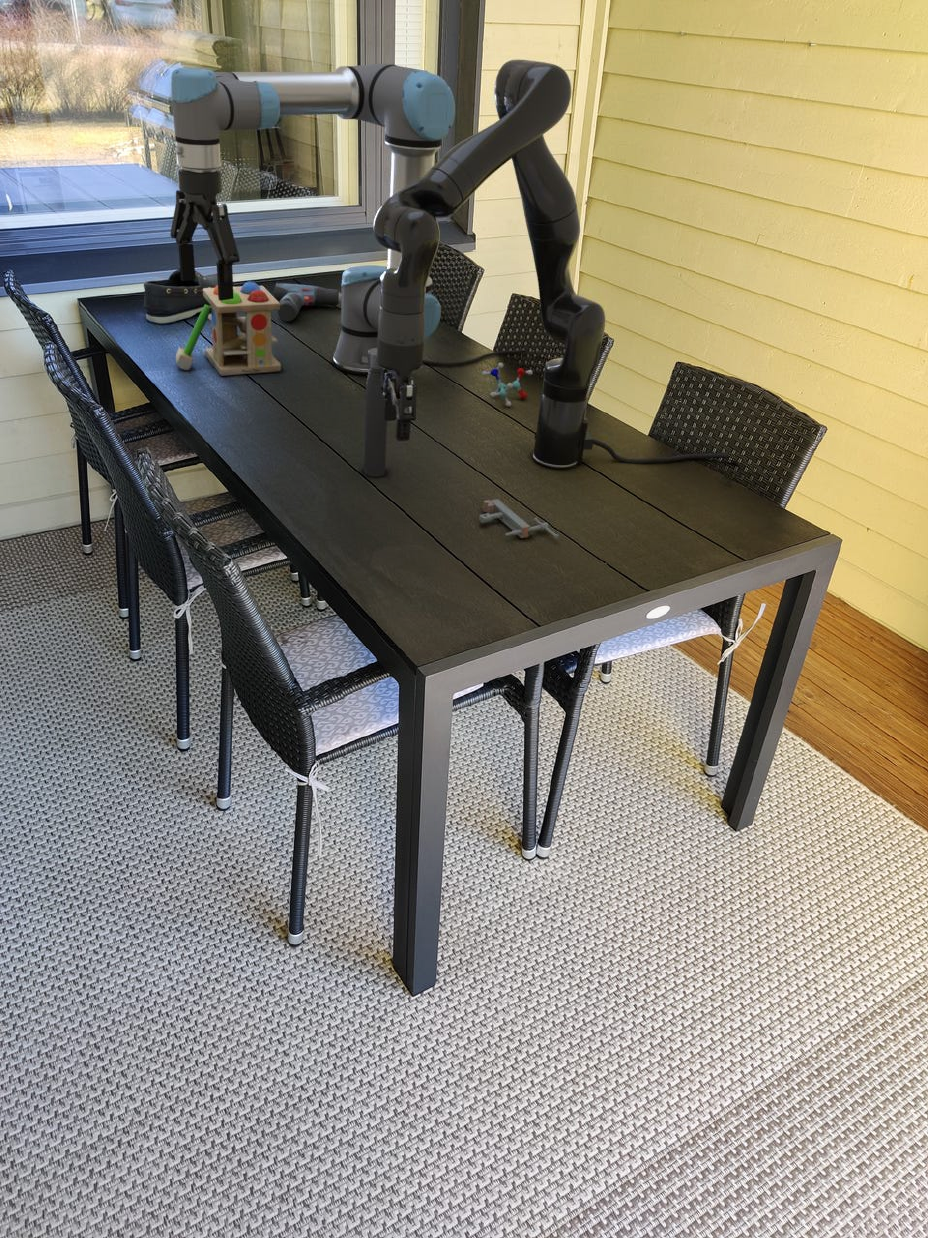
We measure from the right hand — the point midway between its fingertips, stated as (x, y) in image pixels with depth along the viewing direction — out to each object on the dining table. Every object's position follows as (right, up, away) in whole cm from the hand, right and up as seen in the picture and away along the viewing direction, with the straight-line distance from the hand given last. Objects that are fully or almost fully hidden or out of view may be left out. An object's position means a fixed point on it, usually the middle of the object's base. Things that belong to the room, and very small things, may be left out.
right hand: (396, 429), depth 167 cm
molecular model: (+21, +19, +60) cm, 66 cm away
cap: (-4, +16, +10) cm, 19 cm away
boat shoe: (-61, +51, +96) cm, 125 cm away
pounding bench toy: (-44, +27, +63) cm, 82 cm away
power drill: (-32, +51, +100) cm, 116 cm away
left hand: (-37, +30, +19) cm, 51 cm away
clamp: (+20, -16, +9) cm, 28 cm away
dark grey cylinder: (-6, -4, +23) cm, 24 cm away
